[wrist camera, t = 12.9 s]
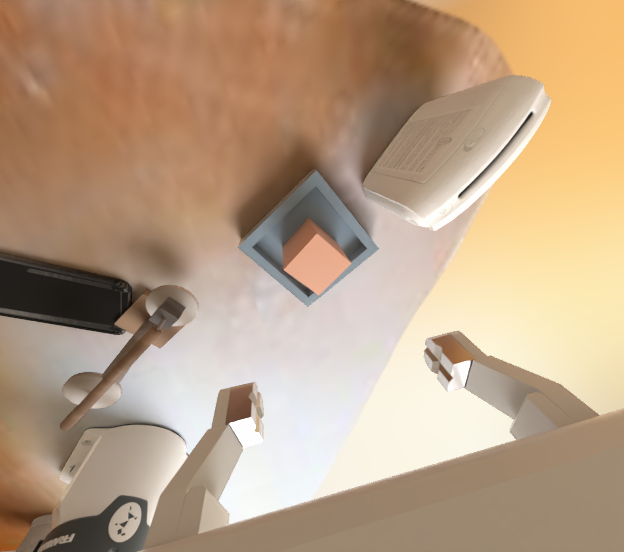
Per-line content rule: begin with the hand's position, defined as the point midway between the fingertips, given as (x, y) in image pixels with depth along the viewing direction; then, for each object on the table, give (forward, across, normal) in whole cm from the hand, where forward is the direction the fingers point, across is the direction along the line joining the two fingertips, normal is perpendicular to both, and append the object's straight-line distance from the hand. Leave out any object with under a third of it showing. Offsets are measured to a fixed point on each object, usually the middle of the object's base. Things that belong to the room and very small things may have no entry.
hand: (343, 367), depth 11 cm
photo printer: (+19, -12, -6) cm, 23 cm away
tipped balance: (+19, +20, +7) cm, 28 cm away
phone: (+20, +28, +1) cm, 35 cm away
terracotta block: (+18, -1, +1) cm, 18 cm away
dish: (+19, -1, +1) cm, 19 cm away
